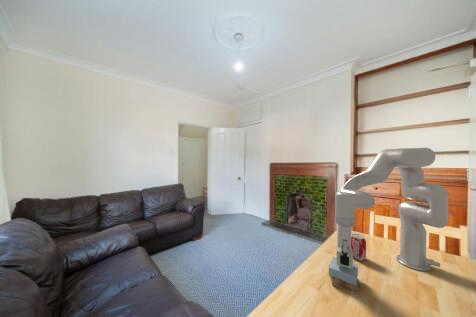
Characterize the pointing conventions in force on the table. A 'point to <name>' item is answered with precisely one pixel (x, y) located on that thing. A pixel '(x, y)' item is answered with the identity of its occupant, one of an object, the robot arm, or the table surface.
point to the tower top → (343, 272)
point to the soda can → (358, 247)
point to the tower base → (345, 284)
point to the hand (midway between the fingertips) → (344, 260)
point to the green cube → (349, 258)
